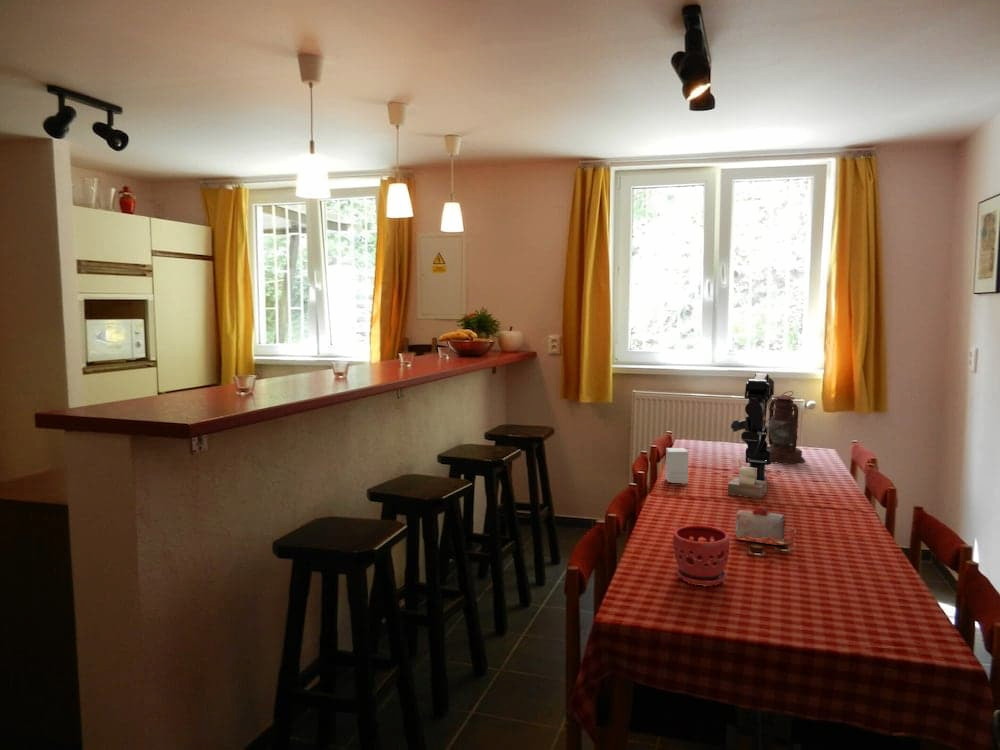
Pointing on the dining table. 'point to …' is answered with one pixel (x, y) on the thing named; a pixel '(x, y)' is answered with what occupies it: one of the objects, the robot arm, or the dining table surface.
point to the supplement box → (677, 465)
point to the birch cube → (747, 475)
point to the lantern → (784, 431)
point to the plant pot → (701, 554)
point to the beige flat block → (747, 488)
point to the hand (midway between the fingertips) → (754, 455)
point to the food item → (759, 524)
